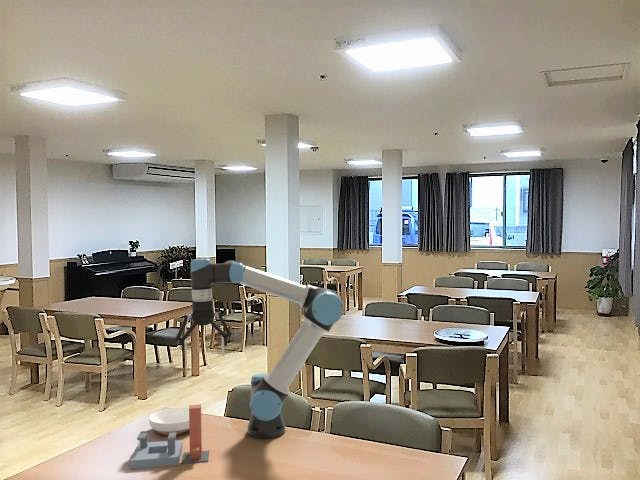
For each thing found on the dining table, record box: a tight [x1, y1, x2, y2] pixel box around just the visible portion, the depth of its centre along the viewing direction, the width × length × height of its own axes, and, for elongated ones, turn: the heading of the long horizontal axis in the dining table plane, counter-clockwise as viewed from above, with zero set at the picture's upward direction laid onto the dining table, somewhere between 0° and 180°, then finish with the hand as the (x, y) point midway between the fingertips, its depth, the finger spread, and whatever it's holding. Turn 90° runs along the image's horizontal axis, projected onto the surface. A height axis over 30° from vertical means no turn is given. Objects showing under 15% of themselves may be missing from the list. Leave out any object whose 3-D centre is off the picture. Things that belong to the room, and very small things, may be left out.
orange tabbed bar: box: [188, 404, 203, 459], centre depth 204 cm, size 12×4×18 cm, turn 9°
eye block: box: [130, 430, 184, 470], centre depth 204 cm, size 16×16×8 cm
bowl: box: [148, 407, 189, 436], centre depth 232 cm, size 20×20×6 cm
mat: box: [181, 450, 210, 465], centre depth 204 cm, size 9×9×1 cm
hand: (204, 356), depth 213 cm, fingers open, 13 cm apart
